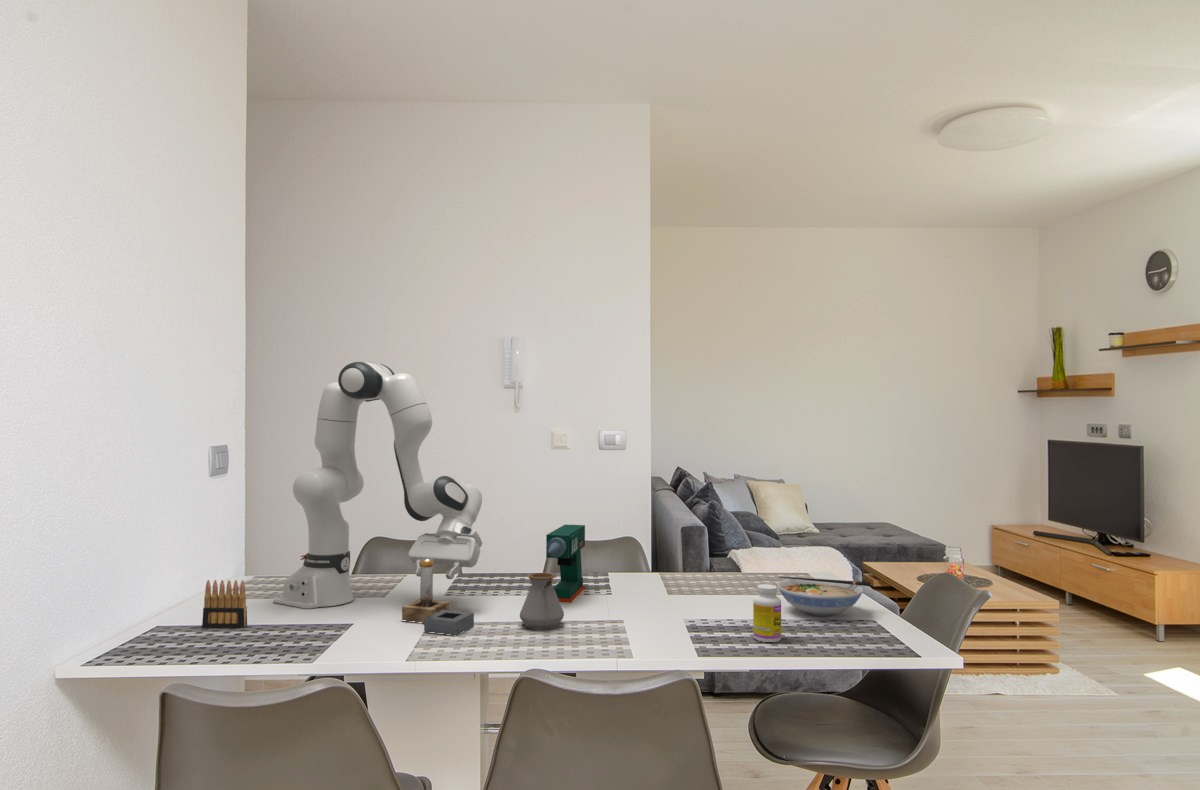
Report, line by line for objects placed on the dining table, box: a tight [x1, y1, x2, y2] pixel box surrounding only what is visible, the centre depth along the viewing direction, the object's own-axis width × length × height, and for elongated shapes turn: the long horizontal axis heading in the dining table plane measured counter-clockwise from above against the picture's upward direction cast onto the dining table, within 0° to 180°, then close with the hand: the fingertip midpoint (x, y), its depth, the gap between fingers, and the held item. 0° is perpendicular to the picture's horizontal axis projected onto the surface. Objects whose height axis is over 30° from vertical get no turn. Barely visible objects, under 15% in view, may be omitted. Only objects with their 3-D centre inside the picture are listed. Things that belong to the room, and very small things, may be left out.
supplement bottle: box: [752, 583, 782, 643], centre depth 183 cm, size 7×7×13 cm
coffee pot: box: [519, 572, 565, 630], centre depth 190 cm, size 21×12×15 cm, turn 11°
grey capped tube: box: [419, 558, 434, 607], centre depth 201 cm, size 3×3×15 cm
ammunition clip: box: [201, 579, 248, 629], centre depth 192 cm, size 11×2×12 cm, turn 90°
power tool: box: [545, 524, 586, 604], centre depth 221 cm, size 32×7×20 cm, turn 168°
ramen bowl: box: [777, 576, 871, 617], centre depth 208 cm, size 25×23×8 cm
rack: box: [401, 599, 451, 623], centre depth 200 cm, size 9×9×4 cm
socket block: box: [423, 609, 475, 636], centre depth 190 cm, size 9×9×4 cm
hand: (433, 576), depth 204 cm, fingers open, 8 cm apart
